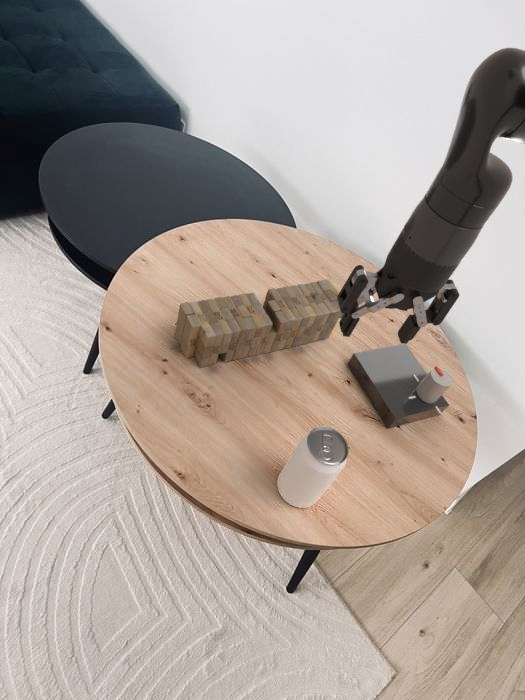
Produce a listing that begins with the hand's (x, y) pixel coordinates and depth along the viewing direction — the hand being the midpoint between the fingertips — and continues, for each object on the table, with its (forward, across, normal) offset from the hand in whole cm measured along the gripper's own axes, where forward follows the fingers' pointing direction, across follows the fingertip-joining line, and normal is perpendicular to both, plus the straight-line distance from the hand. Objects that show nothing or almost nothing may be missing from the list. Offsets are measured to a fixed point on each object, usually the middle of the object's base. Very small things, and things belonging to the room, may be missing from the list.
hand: (373, 335), depth 72 cm
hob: (+20, +15, +7) cm, 25 cm away
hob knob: (+16, +19, +4) cm, 25 cm away
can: (+20, -6, -13) cm, 24 cm away
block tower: (+20, -9, +16) cm, 27 cm away
